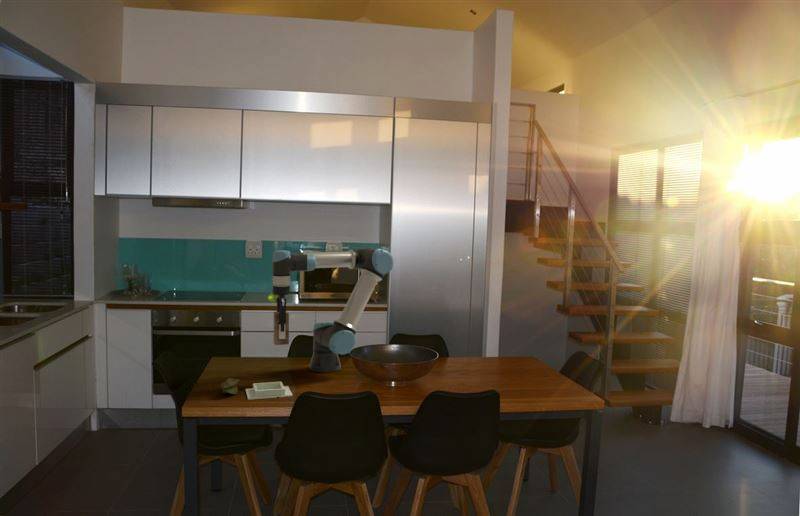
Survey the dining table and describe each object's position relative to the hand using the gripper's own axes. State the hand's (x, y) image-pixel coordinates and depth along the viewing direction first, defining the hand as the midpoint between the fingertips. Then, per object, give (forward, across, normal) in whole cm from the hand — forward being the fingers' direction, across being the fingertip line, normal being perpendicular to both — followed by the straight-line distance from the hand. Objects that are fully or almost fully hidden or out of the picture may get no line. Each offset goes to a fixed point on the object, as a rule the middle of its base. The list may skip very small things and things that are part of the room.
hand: (281, 337), depth 273 cm
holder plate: (+20, +15, -7) cm, 26 cm away
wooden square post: (+3, 0, 0) cm, 3 cm away
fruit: (+21, +11, -23) cm, 33 cm away
